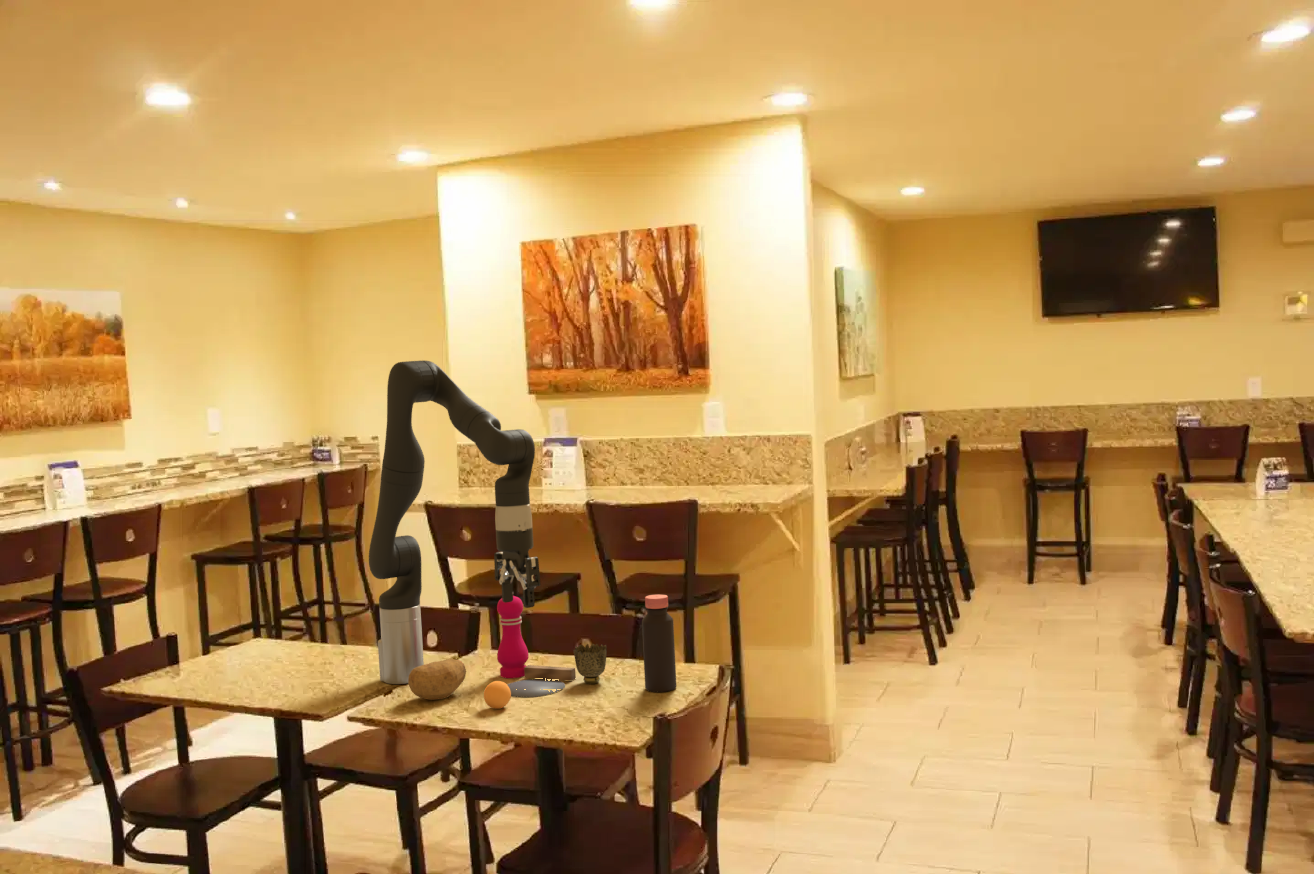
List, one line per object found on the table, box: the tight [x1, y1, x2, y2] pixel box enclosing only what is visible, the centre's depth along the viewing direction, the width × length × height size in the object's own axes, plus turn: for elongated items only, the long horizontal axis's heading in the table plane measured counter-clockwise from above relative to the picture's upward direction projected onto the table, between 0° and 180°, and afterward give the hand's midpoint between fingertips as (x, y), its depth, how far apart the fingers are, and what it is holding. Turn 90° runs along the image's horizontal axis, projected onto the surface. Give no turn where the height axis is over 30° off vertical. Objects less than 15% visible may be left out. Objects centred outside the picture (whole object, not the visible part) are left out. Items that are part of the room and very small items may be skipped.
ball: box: [483, 680, 511, 710], centre depth 224 cm, size 6×6×6 cm
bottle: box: [641, 593, 677, 693], centre depth 232 cm, size 7×7×20 cm
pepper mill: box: [496, 595, 530, 679], centre depth 250 cm, size 7×7×20 cm
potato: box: [407, 658, 467, 701], centre depth 234 cm, size 10×14×8 cm
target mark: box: [506, 678, 566, 698], centre depth 238 cm, size 14×14×1 cm
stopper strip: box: [524, 664, 577, 681], centre depth 245 cm, size 12×2×2 cm, turn 68°
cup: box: [572, 643, 608, 685], centre depth 240 cm, size 8×7×8 cm
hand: (518, 604), depth 223 cm, fingers open, 8 cm apart
